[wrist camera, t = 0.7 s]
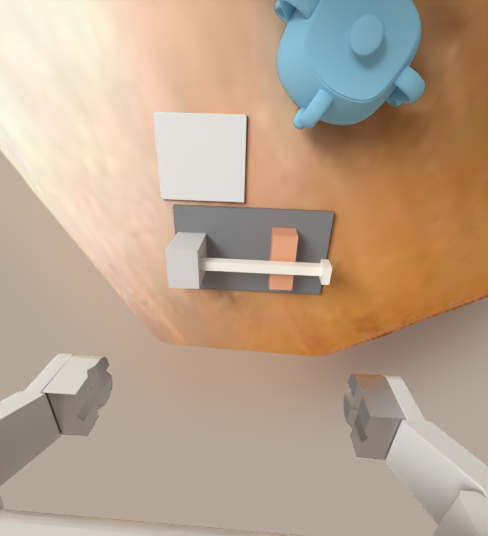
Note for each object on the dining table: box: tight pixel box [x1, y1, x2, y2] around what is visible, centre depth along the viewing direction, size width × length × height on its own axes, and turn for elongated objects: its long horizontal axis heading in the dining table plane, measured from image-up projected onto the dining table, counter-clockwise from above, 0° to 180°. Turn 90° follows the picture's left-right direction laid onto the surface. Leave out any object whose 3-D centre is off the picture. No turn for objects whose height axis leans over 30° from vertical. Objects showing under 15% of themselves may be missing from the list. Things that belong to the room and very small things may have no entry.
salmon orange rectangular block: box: [269, 227, 298, 290], centre depth 51 cm, size 10×4×4 cm, turn 178°
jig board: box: [165, 204, 334, 295], centre depth 50 cm, size 16×27×9 cm, turn 89°
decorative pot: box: [275, 0, 425, 130], centre depth 34 cm, size 16×16×14 cm
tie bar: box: [200, 257, 332, 285], centre depth 47 cm, size 3×24×3 cm, turn 89°
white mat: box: [152, 112, 247, 202], centre depth 47 cm, size 13×14×1 cm
